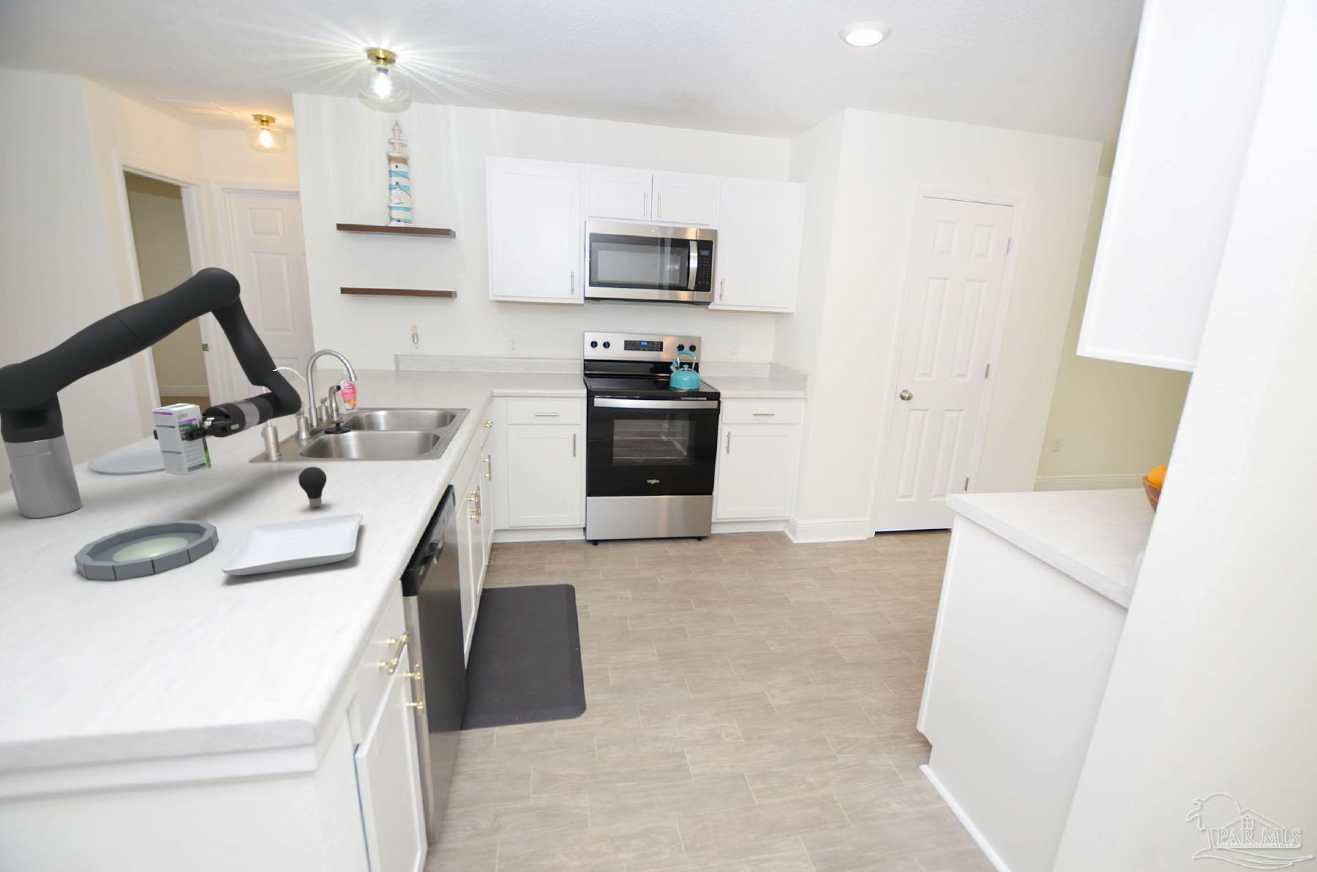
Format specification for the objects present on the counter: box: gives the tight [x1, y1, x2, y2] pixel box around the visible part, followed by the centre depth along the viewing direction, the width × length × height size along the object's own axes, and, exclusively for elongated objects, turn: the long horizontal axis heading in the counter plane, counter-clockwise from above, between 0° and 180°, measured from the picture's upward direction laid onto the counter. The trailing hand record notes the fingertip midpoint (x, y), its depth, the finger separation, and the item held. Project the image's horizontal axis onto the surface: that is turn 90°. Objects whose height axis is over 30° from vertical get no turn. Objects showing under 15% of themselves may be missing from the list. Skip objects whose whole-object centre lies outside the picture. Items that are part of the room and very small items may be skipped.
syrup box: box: [151, 403, 212, 476], centre depth 123 cm, size 6×6×14 cm
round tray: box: [73, 519, 219, 581], centre depth 110 cm, size 20×20×3 cm
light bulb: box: [297, 466, 327, 509], centre depth 134 cm, size 6×6×10 cm
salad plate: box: [221, 513, 364, 576], centre depth 113 cm, size 21×21×3 cm
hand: (171, 435), depth 120 cm, fingers closed on syrup box, 6 cm apart
